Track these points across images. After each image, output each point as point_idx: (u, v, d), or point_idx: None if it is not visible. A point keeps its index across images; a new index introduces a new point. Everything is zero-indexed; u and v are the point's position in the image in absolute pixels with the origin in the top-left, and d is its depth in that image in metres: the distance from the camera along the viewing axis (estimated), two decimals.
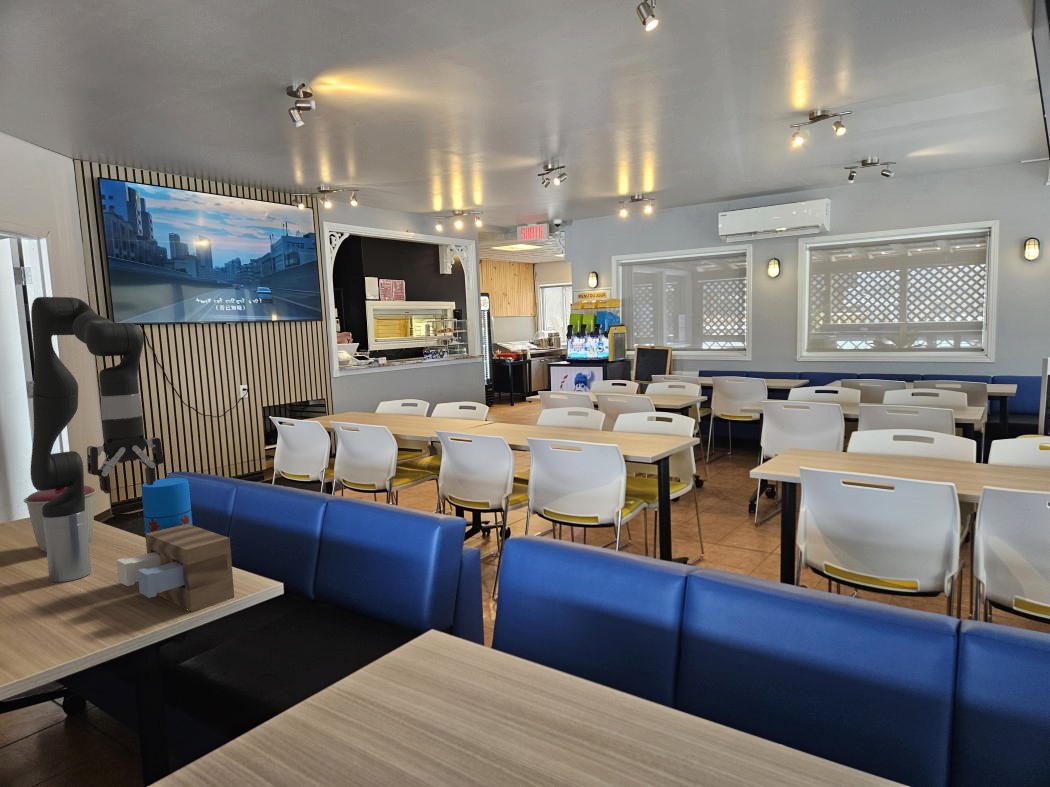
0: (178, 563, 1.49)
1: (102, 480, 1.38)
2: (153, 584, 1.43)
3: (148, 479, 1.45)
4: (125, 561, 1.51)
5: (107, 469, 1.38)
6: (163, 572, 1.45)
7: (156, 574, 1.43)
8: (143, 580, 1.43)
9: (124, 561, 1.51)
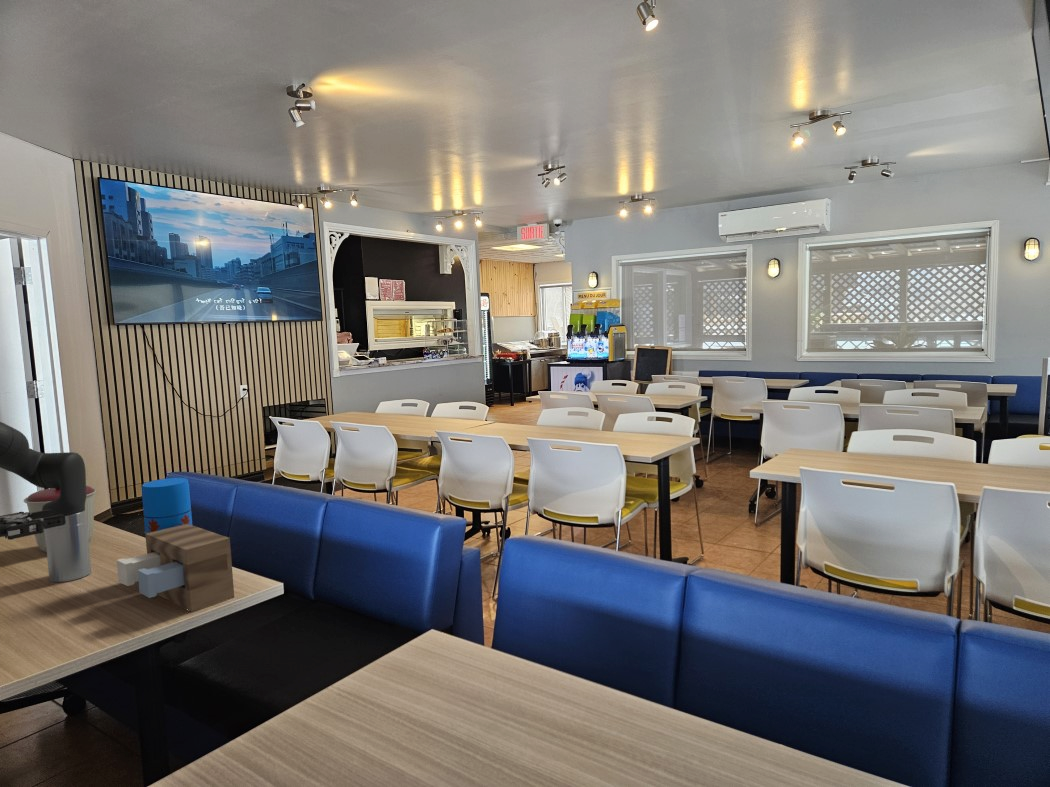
0: (178, 563, 1.49)
1: None
2: (153, 584, 1.43)
3: None
4: (125, 561, 1.51)
5: None
6: (163, 572, 1.45)
7: (156, 574, 1.43)
8: (143, 580, 1.43)
9: (124, 561, 1.51)
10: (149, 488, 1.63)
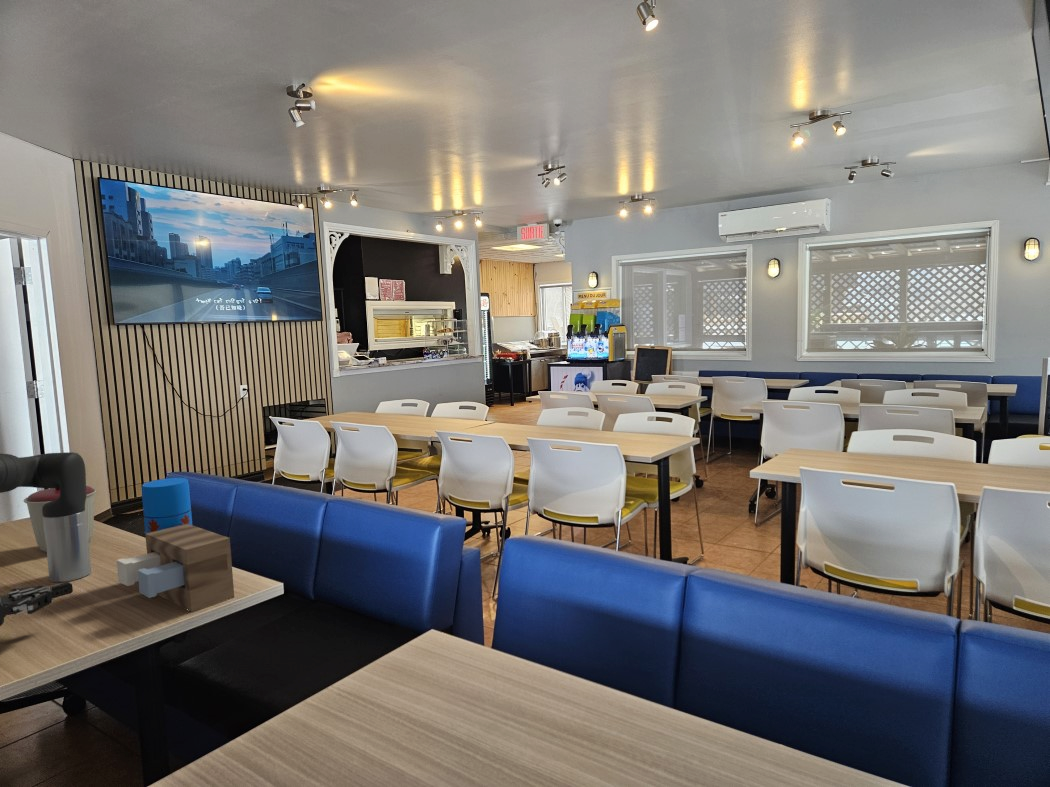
0: (178, 563, 1.49)
1: None
2: (153, 584, 1.43)
3: None
4: (125, 561, 1.51)
5: None
6: (163, 572, 1.45)
7: (156, 574, 1.43)
8: (143, 580, 1.43)
9: (124, 561, 1.51)
10: (149, 488, 1.63)
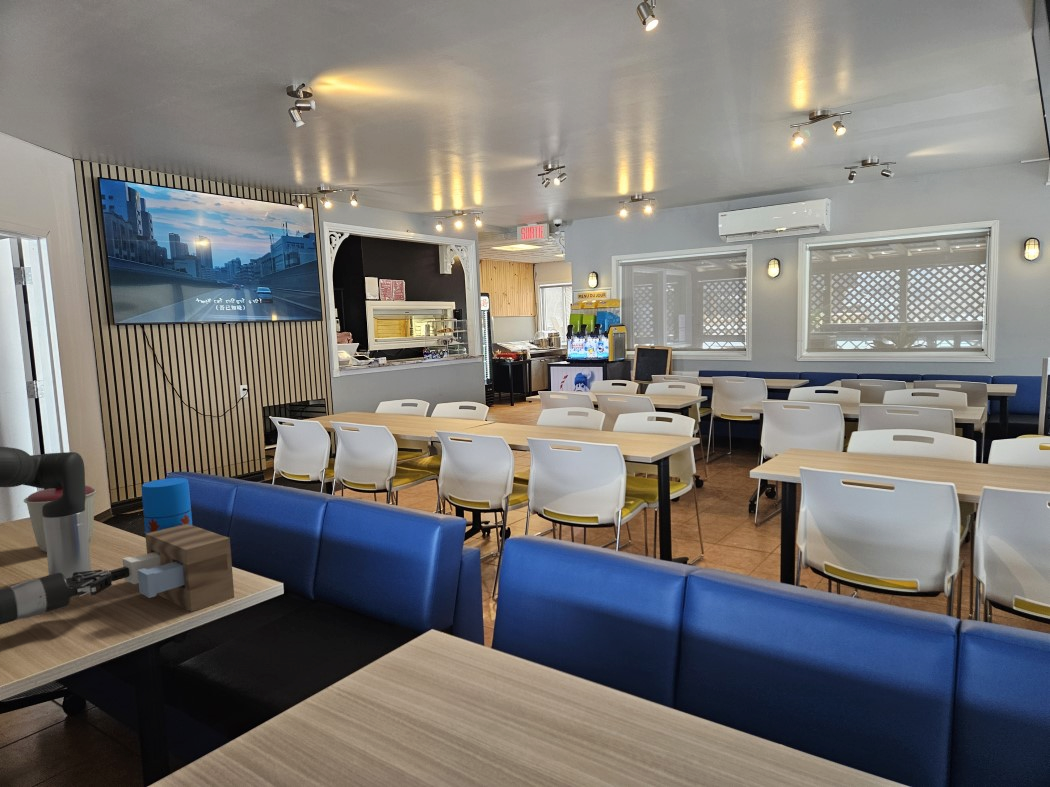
0: (178, 563, 1.49)
1: None
2: (153, 584, 1.43)
3: None
4: (131, 559, 1.52)
5: None
6: (163, 572, 1.45)
7: (156, 574, 1.43)
8: (143, 580, 1.43)
9: (130, 560, 1.52)
10: (149, 488, 1.63)
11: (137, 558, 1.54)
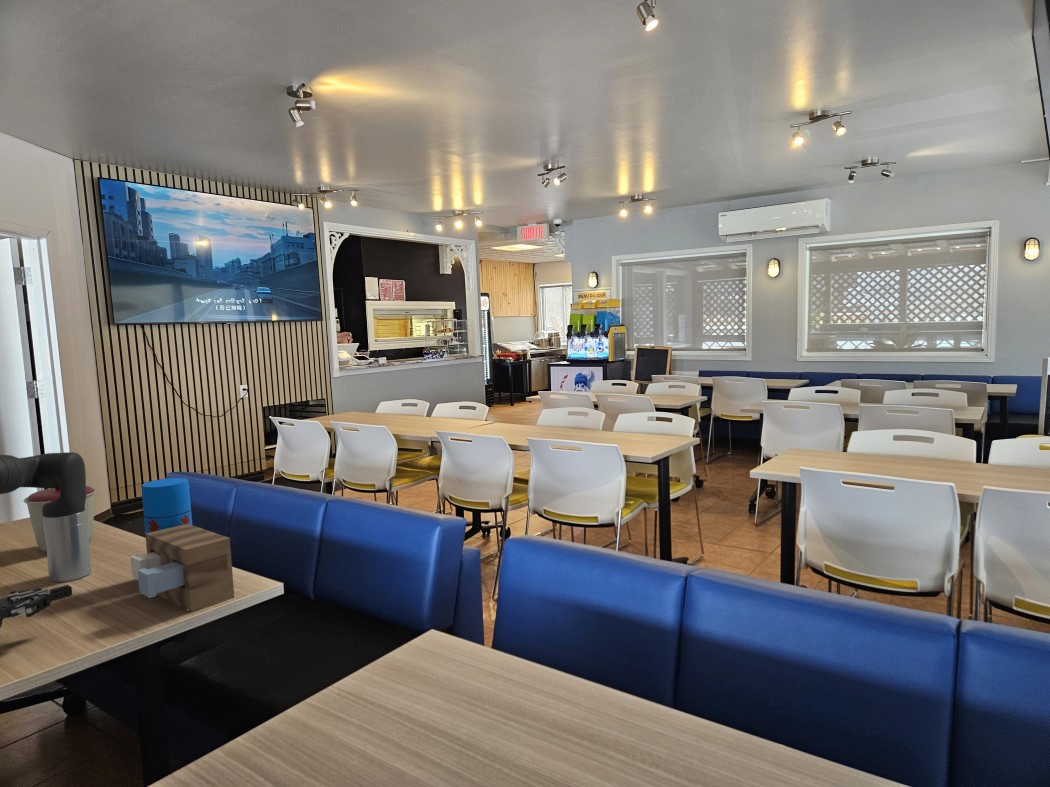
0: (178, 563, 1.49)
1: None
2: (153, 584, 1.43)
3: None
4: (139, 557, 1.53)
5: None
6: (163, 572, 1.45)
7: (156, 574, 1.43)
8: (143, 580, 1.43)
9: (138, 557, 1.53)
10: (149, 488, 1.63)
11: (145, 556, 1.55)
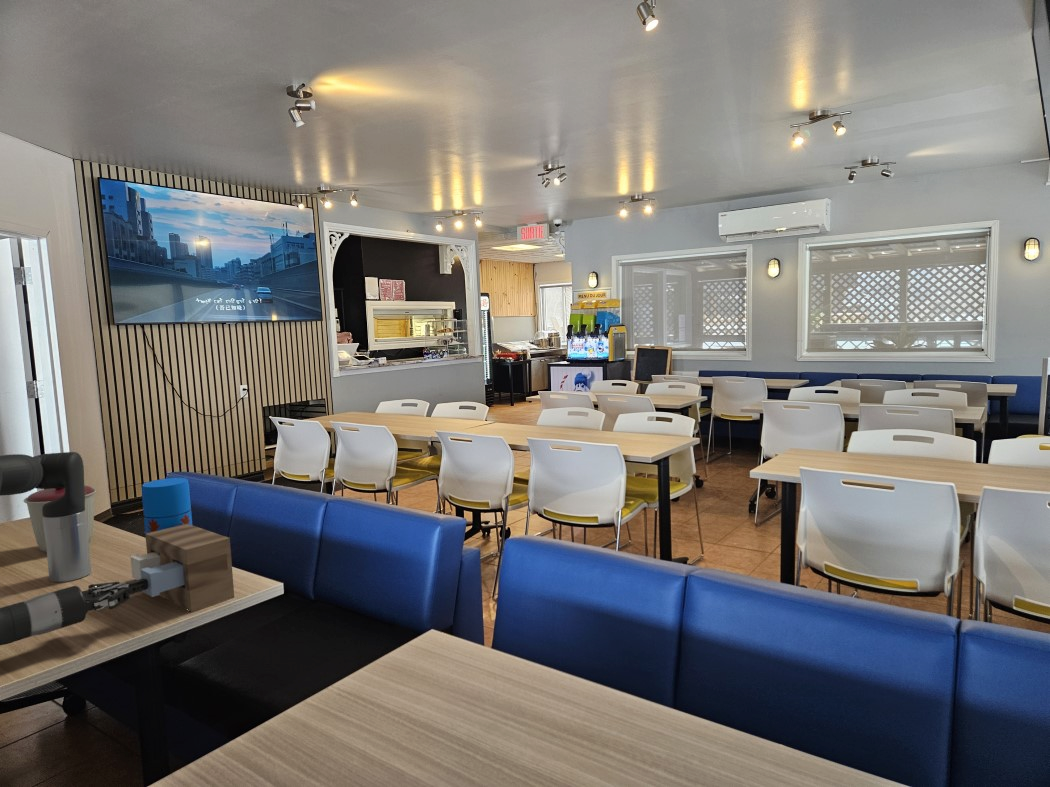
0: (181, 563, 1.49)
1: None
2: (156, 583, 1.43)
3: None
4: (139, 557, 1.53)
5: None
6: (166, 571, 1.45)
7: (159, 573, 1.44)
8: (146, 579, 1.44)
9: (138, 557, 1.53)
10: (149, 488, 1.63)
11: (145, 556, 1.55)
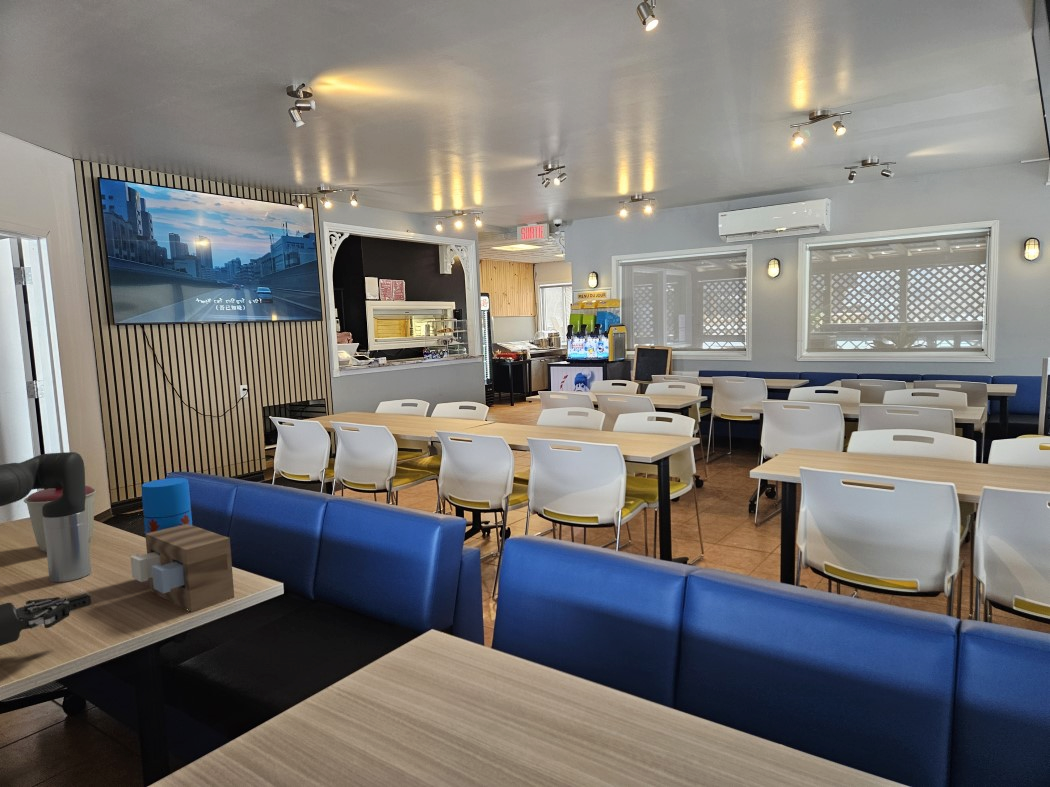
0: None
1: None
2: (167, 580, 1.45)
3: None
4: (139, 557, 1.53)
5: None
6: (177, 568, 1.47)
7: (170, 570, 1.46)
8: (157, 575, 1.46)
9: (138, 557, 1.53)
10: (149, 488, 1.63)
11: (145, 556, 1.55)
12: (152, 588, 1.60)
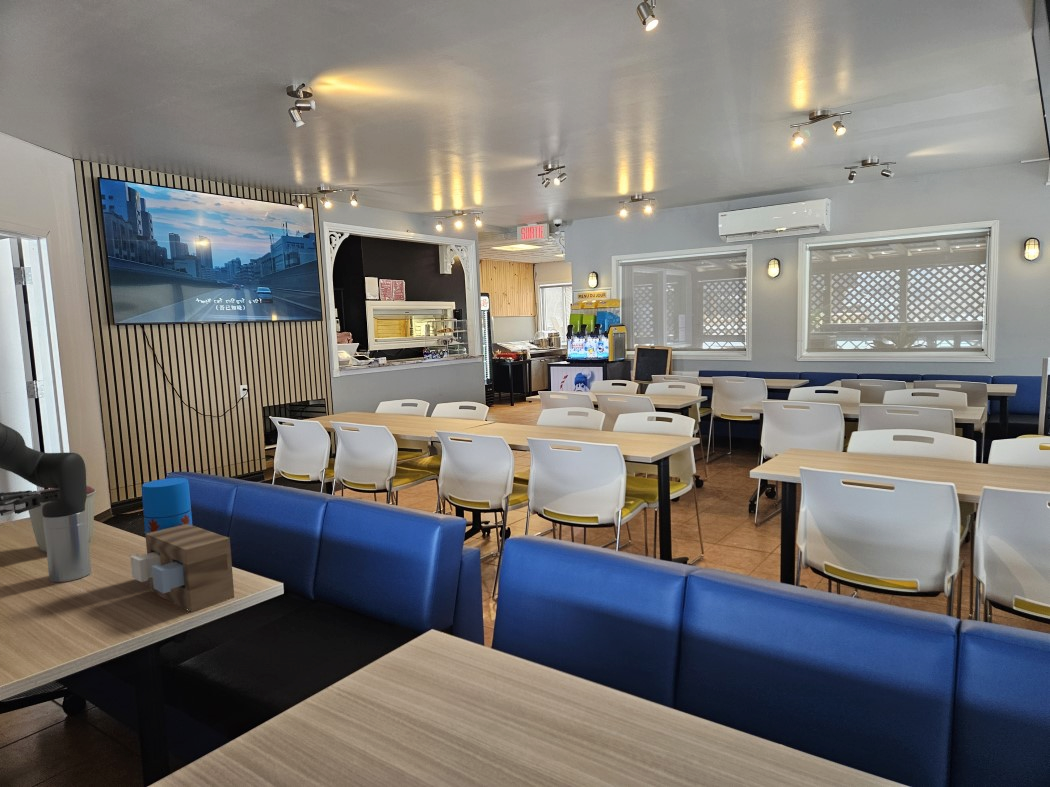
0: None
1: None
2: (167, 580, 1.45)
3: None
4: (139, 557, 1.53)
5: None
6: (177, 568, 1.47)
7: (170, 570, 1.46)
8: (157, 575, 1.46)
9: (138, 557, 1.53)
10: (149, 488, 1.63)
11: (145, 556, 1.55)
12: (152, 588, 1.60)
